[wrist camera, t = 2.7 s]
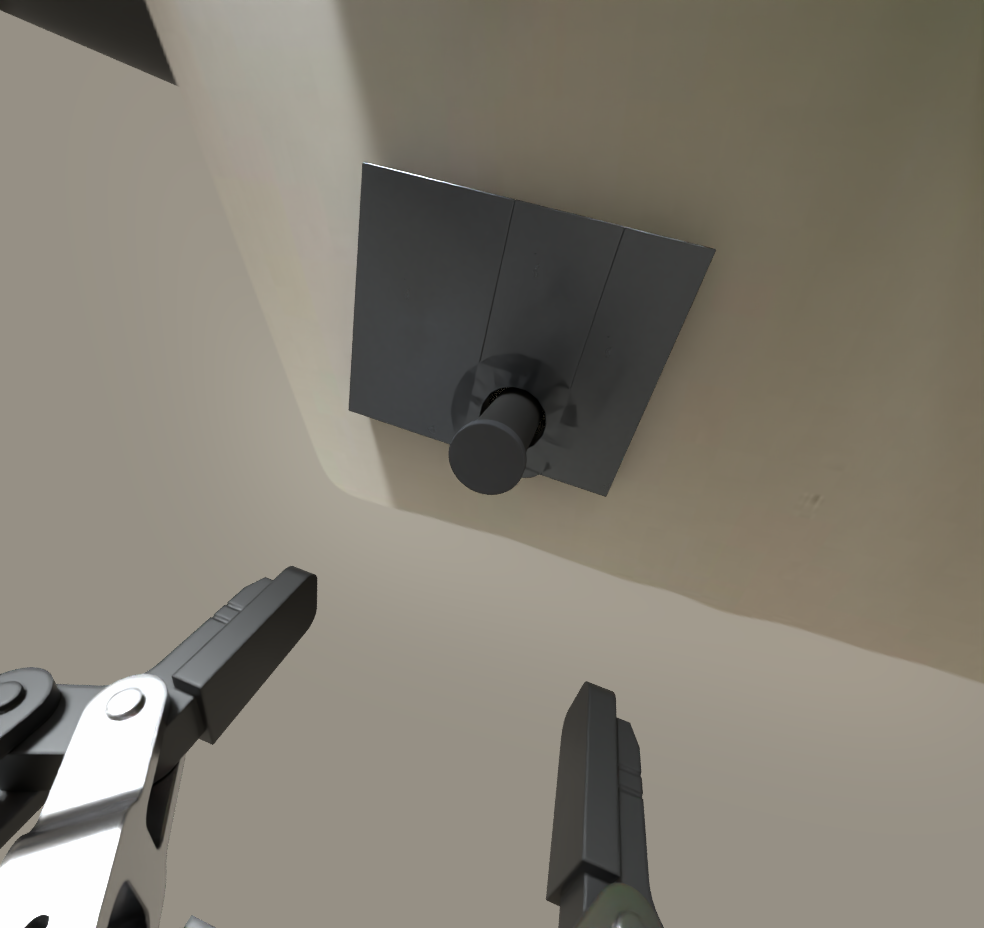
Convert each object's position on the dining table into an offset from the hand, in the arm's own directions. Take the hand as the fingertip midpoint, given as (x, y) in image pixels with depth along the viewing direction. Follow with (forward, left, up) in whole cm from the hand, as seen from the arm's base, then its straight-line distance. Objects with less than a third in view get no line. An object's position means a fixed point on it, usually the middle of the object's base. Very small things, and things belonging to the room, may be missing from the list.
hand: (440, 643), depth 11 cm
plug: (-2, +1, -17) cm, 17 cm away
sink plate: (-4, +5, -17) cm, 18 cm away
